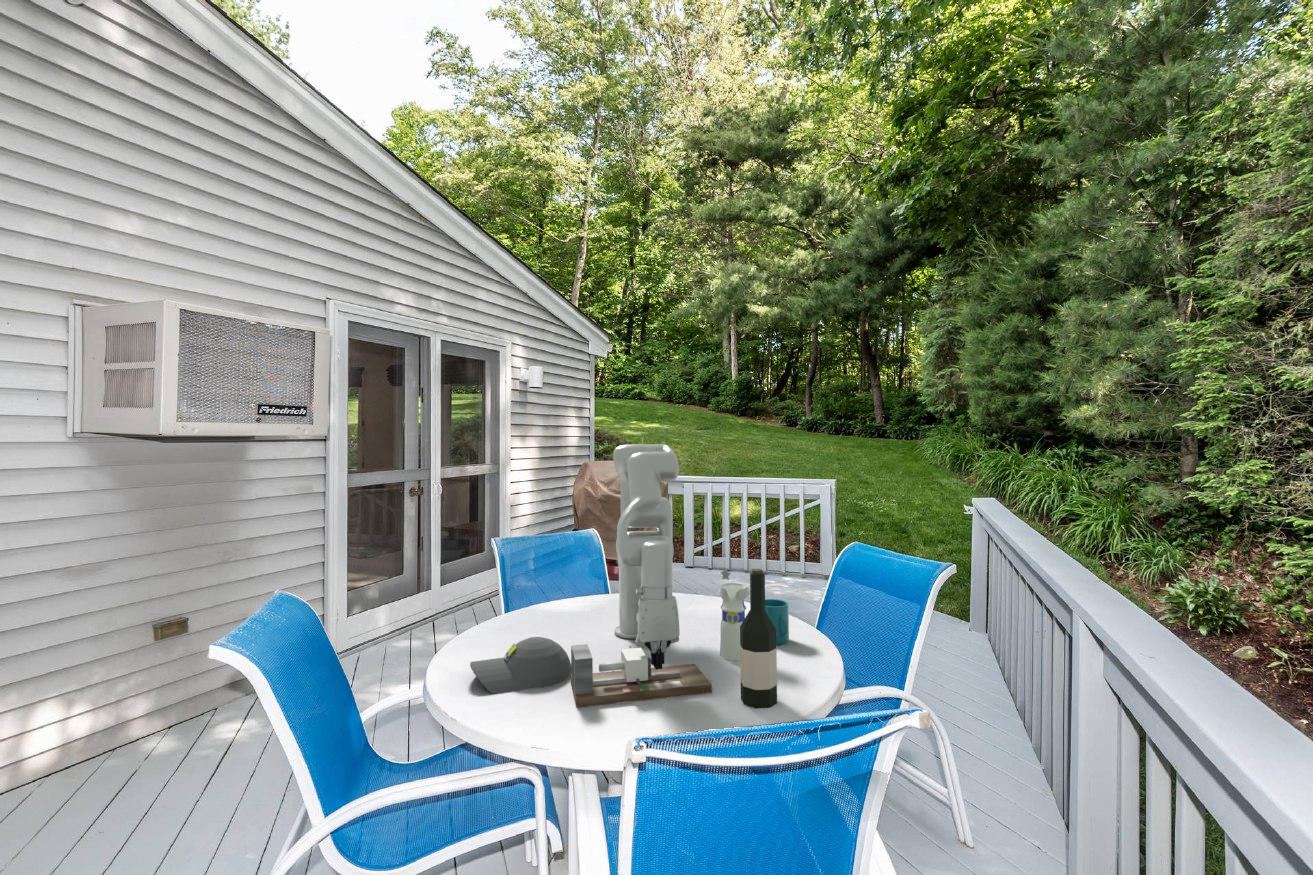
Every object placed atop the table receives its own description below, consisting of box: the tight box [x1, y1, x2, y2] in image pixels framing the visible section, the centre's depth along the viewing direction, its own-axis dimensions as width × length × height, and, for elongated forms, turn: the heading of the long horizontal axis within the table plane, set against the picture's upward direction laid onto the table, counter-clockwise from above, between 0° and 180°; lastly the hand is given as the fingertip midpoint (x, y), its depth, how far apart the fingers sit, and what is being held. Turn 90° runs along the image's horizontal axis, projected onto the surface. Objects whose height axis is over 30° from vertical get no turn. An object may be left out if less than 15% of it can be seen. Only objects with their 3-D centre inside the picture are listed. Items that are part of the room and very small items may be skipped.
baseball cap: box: [469, 636, 571, 695], centre depth 155 cm, size 19×26×12 cm
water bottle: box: [718, 567, 750, 661], centre depth 168 cm, size 8×9×25 cm
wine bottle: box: [739, 568, 778, 709], centre depth 139 cm, size 8×8×30 cm
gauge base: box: [570, 643, 713, 708], centre depth 147 cm, size 14×32×10 cm, turn 103°
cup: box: [765, 598, 790, 646], centre depth 179 cm, size 9×12×11 cm
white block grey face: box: [598, 647, 652, 685], centre depth 145 cm, size 10×12×5 cm
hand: (657, 667), depth 148 cm, fingers closed
